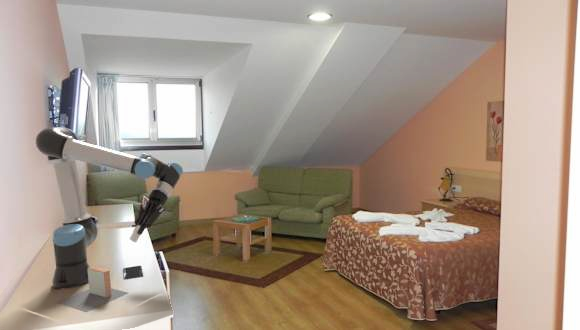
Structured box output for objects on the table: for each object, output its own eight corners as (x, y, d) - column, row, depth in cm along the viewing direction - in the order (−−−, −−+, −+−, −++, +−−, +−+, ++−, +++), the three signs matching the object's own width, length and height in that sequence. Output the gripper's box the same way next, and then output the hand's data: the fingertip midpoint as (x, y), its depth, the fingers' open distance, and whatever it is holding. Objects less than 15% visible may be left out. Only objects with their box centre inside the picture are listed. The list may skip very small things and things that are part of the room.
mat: (55, 303, 157) (55, 302, 157) (99, 286, 172) (98, 284, 172) (86, 313, 148) (86, 312, 148) (129, 294, 163) (129, 292, 163)
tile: (89, 293, 164) (86, 268, 163) (94, 291, 166) (92, 266, 165) (106, 298, 159) (103, 272, 158) (111, 295, 161) (109, 270, 160)
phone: (123, 279, 177) (123, 268, 191) (123, 282, 177) (123, 270, 191) (143, 276, 180) (141, 265, 194) (143, 278, 180) (141, 267, 194)
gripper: (145, 187, 188) (116, 234, 175) (166, 189, 182) (138, 237, 169) (155, 197, 193) (127, 243, 181) (176, 199, 187) (149, 246, 174)
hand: (132, 240), depth 175 cm, fingers closed
